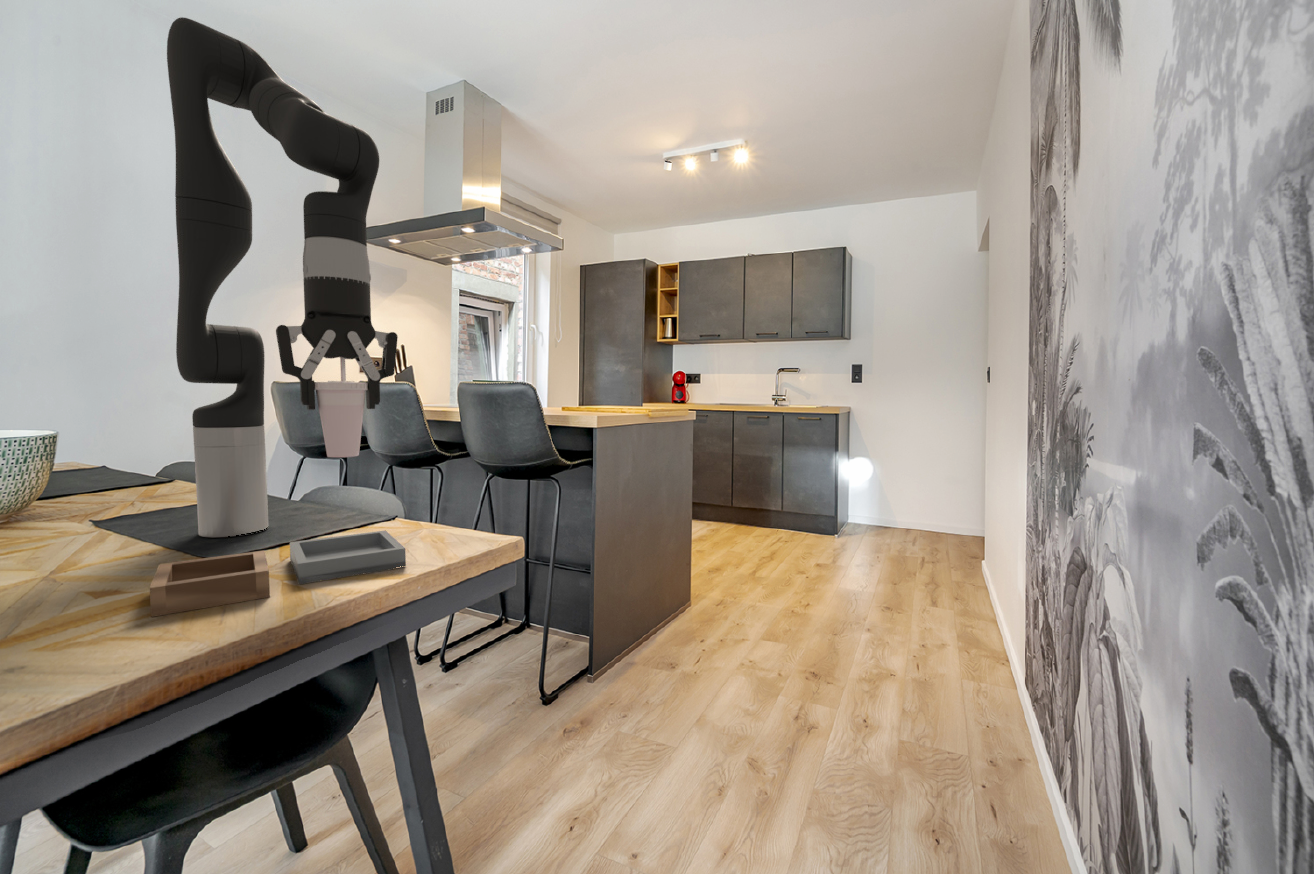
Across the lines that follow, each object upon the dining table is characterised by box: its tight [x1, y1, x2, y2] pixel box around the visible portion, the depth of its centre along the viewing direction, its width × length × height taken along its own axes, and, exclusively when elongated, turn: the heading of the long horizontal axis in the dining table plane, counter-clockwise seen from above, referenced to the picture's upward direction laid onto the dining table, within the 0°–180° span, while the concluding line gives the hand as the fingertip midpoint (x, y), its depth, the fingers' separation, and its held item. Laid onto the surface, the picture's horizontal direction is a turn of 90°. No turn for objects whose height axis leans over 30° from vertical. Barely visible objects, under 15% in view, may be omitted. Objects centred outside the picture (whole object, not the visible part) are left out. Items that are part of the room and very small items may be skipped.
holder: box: [149, 550, 271, 618], centre depth 65 cm, size 10×10×3 cm
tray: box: [289, 530, 407, 585], centre depth 76 cm, size 12×12×2 cm
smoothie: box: [314, 357, 368, 458], centre depth 75 cm, size 6×6×14 cm
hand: (341, 408), depth 75 cm, fingers closed on smoothie, 6 cm apart
